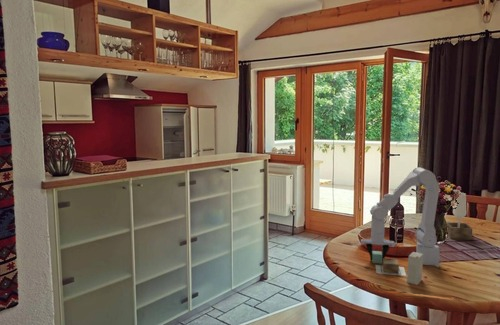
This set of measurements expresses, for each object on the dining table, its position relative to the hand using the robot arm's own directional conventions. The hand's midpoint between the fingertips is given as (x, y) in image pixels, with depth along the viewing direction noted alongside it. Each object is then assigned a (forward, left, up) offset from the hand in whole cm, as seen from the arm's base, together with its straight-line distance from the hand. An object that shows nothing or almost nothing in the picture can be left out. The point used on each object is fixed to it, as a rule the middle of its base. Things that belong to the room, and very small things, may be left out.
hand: (377, 260), depth 175 cm
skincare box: (-13, +18, -2) cm, 23 cm away
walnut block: (-5, +9, -1) cm, 10 cm away
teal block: (0, 0, -2) cm, 2 cm away
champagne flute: (-46, -49, -2) cm, 67 cm away
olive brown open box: (-46, -49, -1) cm, 67 cm away
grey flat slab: (-5, +9, -1) cm, 10 cm away
